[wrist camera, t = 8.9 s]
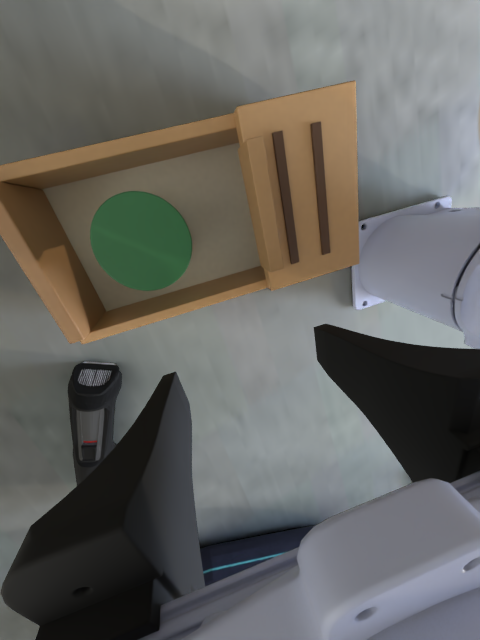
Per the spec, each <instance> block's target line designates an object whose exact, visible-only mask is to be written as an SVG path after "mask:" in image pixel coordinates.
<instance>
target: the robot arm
mask: <svg viewBox="0 0 480 640" xmlns="http://www.w3.org/2000/svg"><path fill="white" fill-rule="evenodd" d="M451 203H452V198H451V197H450V196H444V197H440V198H437V199H433V200H430V201H427V202H423V203H420V204H416V205H413V206H409V207H406V208H402V209H399V210H395V211H392V212H388V213H385V214H382V215H378V216H375V217H371V218H368V219H364V220H361V221H359V261H360V263H359V264H357V265H354V266H352V293H353V307H354V308H355V309H357V310H360V309H363V308H366V307H369V306H373V305H376V304H379V303H382V302H385V301H389V302H391V303H393V304H396V305H398V306H401V307H403V308H406V309H408V310H410V311H413V312H415V313H418V314H420V315H423V316H425V317H428V318H430V319H432V320H435V321H437V322H440V323H442V324H445V325H447V326H450V327H452V328H454V329H457V330H459V331H462V332H464V335H465V339H464V344H466V345H468V346H471V347H473V348H475V349H458V348H441V347H430V346H421V345H413V344H406V343H400V342H394V341H389V340H385V339H380V338H376V337H372V336H368V335H364V334H360V333H357V332H353V331H350V330H346V329H343V328H340V327H336V326H332V325H328V324H323V325H320V326H317V327H314V333H315V342H316V352H317V360H318V362H319V363H320V365H321V366H322V367H323V369H324V370H325V372H326V373H327V374H328V376H329V377H330V378H331V379H332V380H333V381H334V382H335V383H336V384H337V385H338V386H339V387H340V389H341V390H342V391H343V392H344V393H345V394H346V395H347V396H348V397H349V398H350V399H351V400H352V401H353V402H354V403H355V404H356V406H357V407H358V408H359V409H360V410H361V411H362V412H363V413H364V415H365V416H366V417H367V419H368V420H369V421H370V422H371V424H372V425H373V426H374V428H375V429H376V430H377V432H378V433H379V434H380V436H381V437H382V438H383V440H384V441H385V443H386V444H387V445H388V447H389V448H390V449H391V451H392V452H393V454H394V455H395V457H396V458H397V459H398V461H399V462H400V464H401V465H402V467H403V468H404V470H405V471H406V473H407V474H408V476H409V477H410V479H411V480H412V482H413V483H412V484H409V485H407V486H404V487H402V488H399V489H397V490H395V491H392V492H390V493H387V494H385V495H383V496H380V497H378V498H375V499H373V500H371V501H368V502H366V503H363V504H361V505H358V506H356V507H354V508H351V509H349V510H346V511H344V512H342V513H339V514H337V515H334V516H332V517H330V518H328V519H326V520H325V521H323V522H321V523H320V524H318V525H316V526H314V527H313V528H312V529H311V530H310V531H309V532H308V533H307V534H306V536H305V537H304V538H303V539H302V540H301V543H300V546H299V547H298V548H295V549H293V550H291V551H288V552H286V553H284V554H281V555H279V556H276V557H274V558H272V559H269V560H267V561H265V562H262V563H260V564H258V565H255V566H253V567H250V568H248V569H246V570H243V571H241V572H239V573H236V574H234V575H231V576H229V577H227V578H224V579H222V580H220V581H217V582H215V583H213V584H210V585H208V586H205V582H204V575H203V568H202V561H201V553H200V545H199V537H198V529H197V521H196V512H195V503H194V493H193V483H192V421H191V413H190V405H189V401H188V399H187V397H186V394H185V392H184V390H183V387H182V385H181V383H180V380H179V378H178V376H177V373H176V372H173V373H170V374H167V375H164V376H163V377H162V379H161V381H160V382H159V384H158V386H157V387H156V389H155V391H154V393H153V394H152V396H151V398H150V399H149V401H148V403H147V404H146V406H145V408H144V409H143V410H142V412H141V413H140V415H139V416H138V418H137V419H136V421H135V422H134V424H133V425H132V427H131V428H130V429H129V431H128V432H127V433H126V434H125V436H124V437H123V438H122V439H121V441H120V442H119V443H118V444H117V445H116V447H115V448H114V449H113V450H112V451H111V452H110V453H109V454H108V455H107V456H106V458H105V459H104V460H103V461H102V462H101V463H100V464H99V465H98V466H97V467H96V468H95V469H94V470H93V471H92V472H91V473H90V474H89V475H88V476H87V477H86V478H85V479H84V480H83V481H82V482H81V483H80V484H79V485H78V486H77V487H76V488H75V489H74V490H72V491H71V492H70V493H69V494H68V495H67V496H66V497H65V498H64V499H62V500H61V501H60V502H59V503H58V504H56V505H55V506H54V507H53V508H52V509H51V510H49V511H48V512H47V513H46V514H45V515H43V516H42V517H41V518H40V519H39V520H38V521H36V522H35V523H34V524H33V525H31V527H30V529H29V531H28V533H27V535H26V537H25V539H24V541H23V543H22V545H21V547H20V549H19V551H18V553H17V555H16V558H15V560H14V562H13V564H12V566H11V568H10V570H9V572H8V574H7V576H6V578H5V580H4V582H3V585H2V589H1V594H2V597H3V600H4V602H5V604H6V605H8V606H9V607H10V608H11V609H12V610H14V611H16V612H17V613H19V614H21V615H22V616H24V617H26V618H27V619H29V620H31V621H32V622H34V623H36V624H38V625H39V626H40V628H39V631H38V634H37V637H36V639H35V640H480V207H478V208H451ZM435 204H436V205H435ZM362 224H363V229H361V226H362ZM363 302H364V304H363V305H362V303H363Z"/></svg>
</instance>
